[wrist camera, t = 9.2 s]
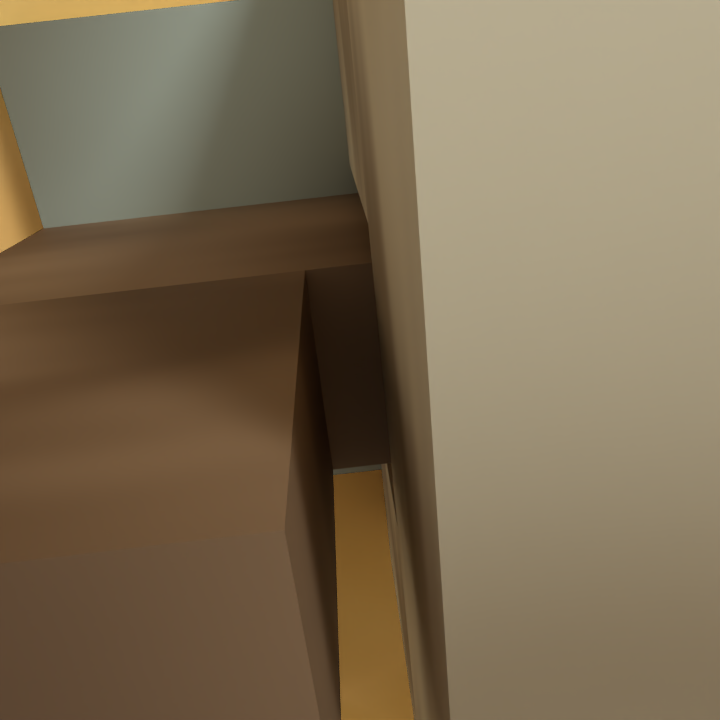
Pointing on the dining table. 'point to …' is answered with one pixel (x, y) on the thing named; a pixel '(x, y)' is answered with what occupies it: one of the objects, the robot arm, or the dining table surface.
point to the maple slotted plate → (546, 346)
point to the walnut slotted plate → (181, 365)
